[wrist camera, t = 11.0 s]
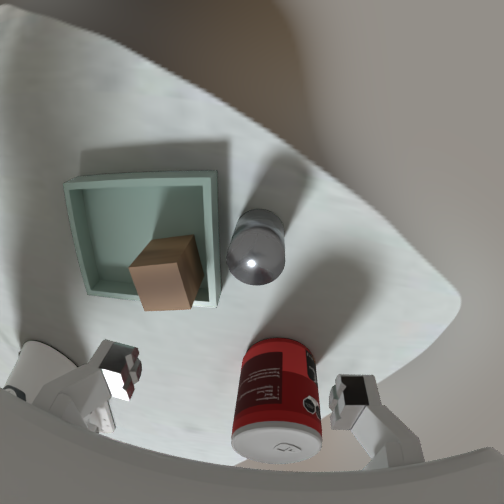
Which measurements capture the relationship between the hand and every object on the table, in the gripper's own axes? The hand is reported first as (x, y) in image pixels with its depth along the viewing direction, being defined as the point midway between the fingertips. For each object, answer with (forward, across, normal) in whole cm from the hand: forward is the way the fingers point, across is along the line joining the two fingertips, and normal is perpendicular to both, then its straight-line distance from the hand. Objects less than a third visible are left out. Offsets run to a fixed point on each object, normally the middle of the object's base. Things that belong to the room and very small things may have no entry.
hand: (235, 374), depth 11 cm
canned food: (+16, -4, +15) cm, 22 cm away
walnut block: (+15, +7, +4) cm, 17 cm away
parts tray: (+15, +10, +2) cm, 18 cm away
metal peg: (+15, 0, 0) cm, 16 cm away
